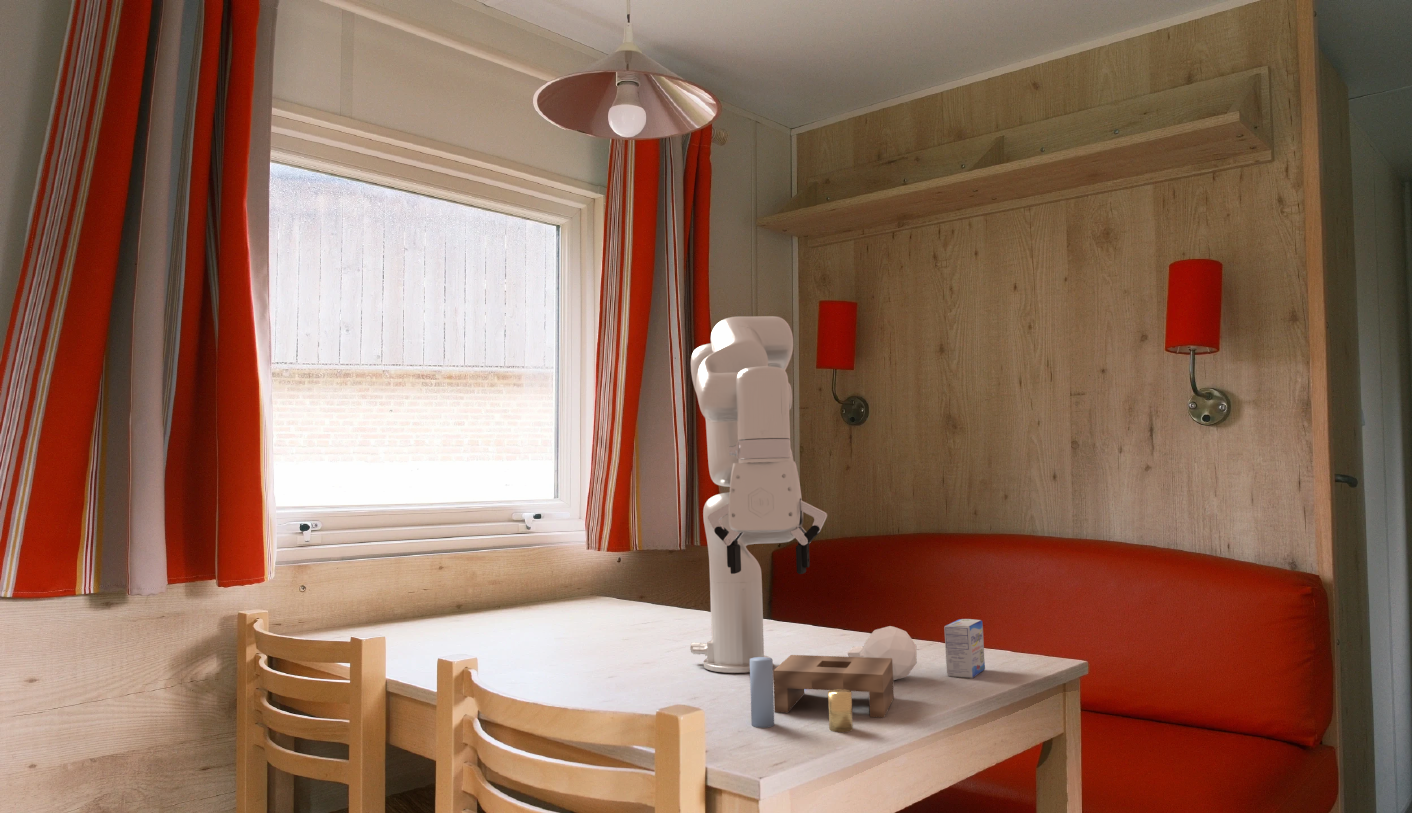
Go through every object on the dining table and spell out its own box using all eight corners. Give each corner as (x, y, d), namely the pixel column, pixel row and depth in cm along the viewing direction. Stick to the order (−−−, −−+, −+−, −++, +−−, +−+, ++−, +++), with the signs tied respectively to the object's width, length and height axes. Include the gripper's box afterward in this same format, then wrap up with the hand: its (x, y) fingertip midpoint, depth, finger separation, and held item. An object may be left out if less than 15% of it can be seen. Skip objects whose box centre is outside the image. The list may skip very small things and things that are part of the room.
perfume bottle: (932, 664, 159) (869, 666, 166) (916, 615, 158) (854, 618, 165) (913, 690, 152) (848, 691, 159) (896, 638, 151) (833, 641, 159)
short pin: (827, 731, 127) (825, 693, 128) (831, 725, 130) (830, 688, 131) (850, 732, 126) (849, 694, 127) (854, 726, 129) (853, 689, 130)
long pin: (748, 726, 130) (746, 660, 131) (754, 720, 134) (752, 656, 134) (771, 727, 130) (769, 661, 130) (776, 721, 133) (774, 657, 133)
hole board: (774, 711, 138) (773, 670, 139) (792, 692, 150) (790, 654, 150) (884, 717, 133) (882, 674, 134) (893, 697, 145) (892, 658, 145)
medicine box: (972, 679, 156) (969, 626, 157) (946, 676, 159) (943, 624, 159) (985, 670, 163) (983, 619, 164) (960, 667, 165) (957, 617, 166)
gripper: (699, 454, 134) (702, 575, 133) (818, 450, 129) (823, 575, 127) (715, 455, 141) (718, 570, 140) (828, 451, 136) (833, 570, 135)
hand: (768, 572), depth 134 cm, fingers open, 9 cm apart
